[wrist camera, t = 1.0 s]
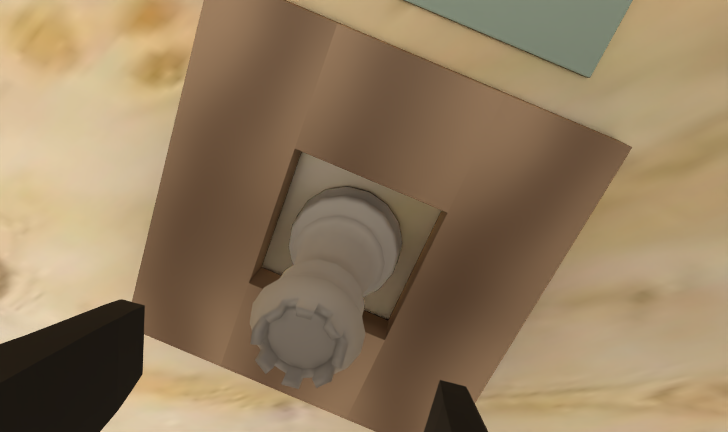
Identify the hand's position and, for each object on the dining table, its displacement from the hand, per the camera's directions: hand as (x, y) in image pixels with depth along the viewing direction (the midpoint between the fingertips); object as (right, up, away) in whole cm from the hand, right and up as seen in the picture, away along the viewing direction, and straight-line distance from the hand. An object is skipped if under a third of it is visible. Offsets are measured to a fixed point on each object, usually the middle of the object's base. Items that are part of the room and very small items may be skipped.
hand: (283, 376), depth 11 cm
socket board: (+1, +3, +9) cm, 9 cm away
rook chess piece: (+1, +3, +9) cm, 9 cm away
